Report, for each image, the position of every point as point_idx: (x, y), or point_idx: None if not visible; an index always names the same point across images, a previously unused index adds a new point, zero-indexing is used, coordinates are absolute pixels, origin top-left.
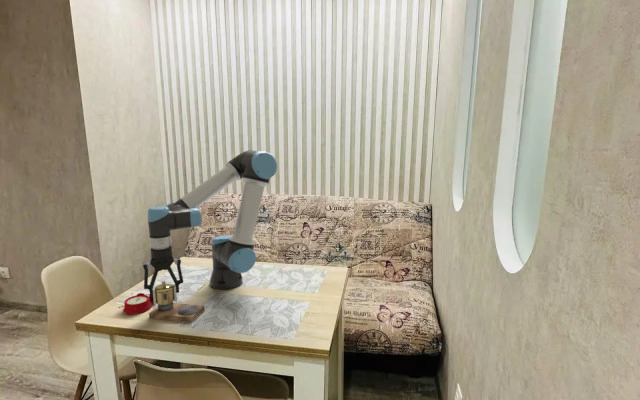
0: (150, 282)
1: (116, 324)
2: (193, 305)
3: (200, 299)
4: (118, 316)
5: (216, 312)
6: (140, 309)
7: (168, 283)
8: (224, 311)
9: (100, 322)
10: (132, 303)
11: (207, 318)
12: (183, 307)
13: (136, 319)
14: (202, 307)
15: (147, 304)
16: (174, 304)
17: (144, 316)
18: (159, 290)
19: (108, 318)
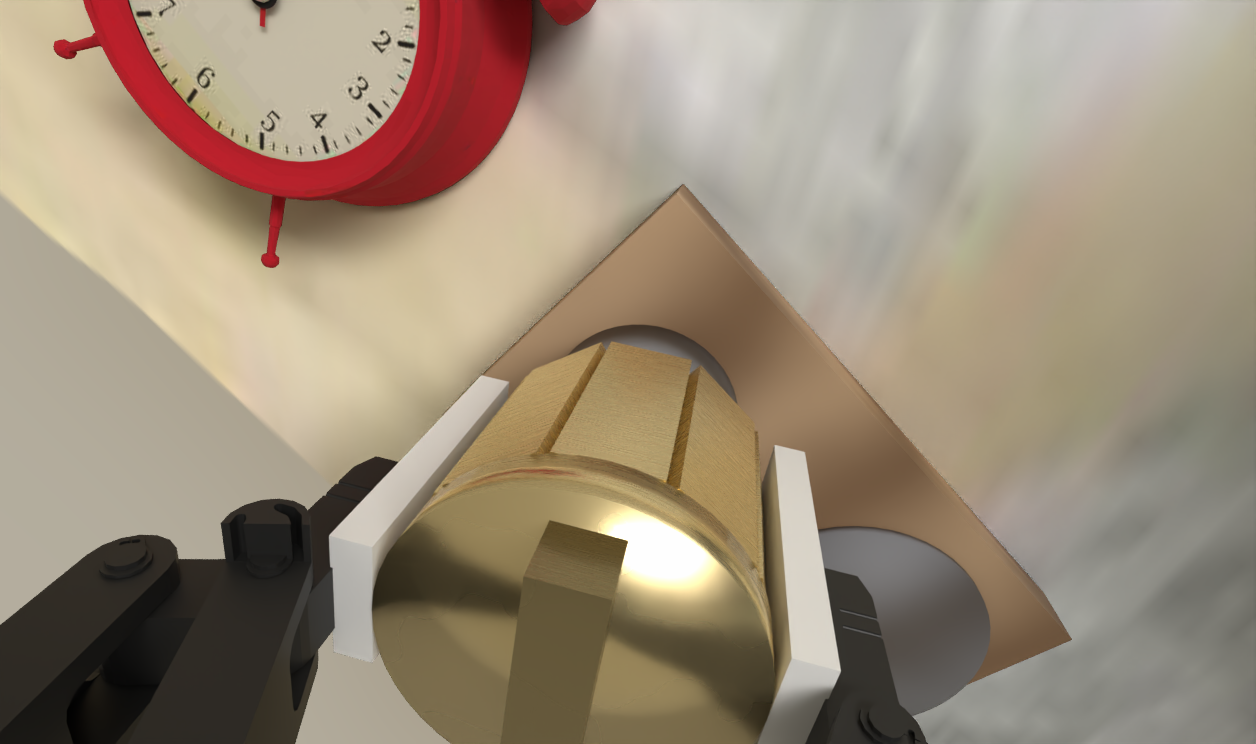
0: (181, 671)
1: (173, 319)
2: (957, 580)
3: (1229, 275)
4: (154, 125)
5: (1107, 702)
6: (363, 195)
7: (704, 562)
8: (1189, 734)
9: (6, 166)
10: (211, 80)
11: (954, 734)
12: (828, 550)
13: (347, 334)
14: (1020, 661)
15: (442, 144)
16: (774, 379)
17: (425, 316)
18: (452, 740)
19: (58, 109)
